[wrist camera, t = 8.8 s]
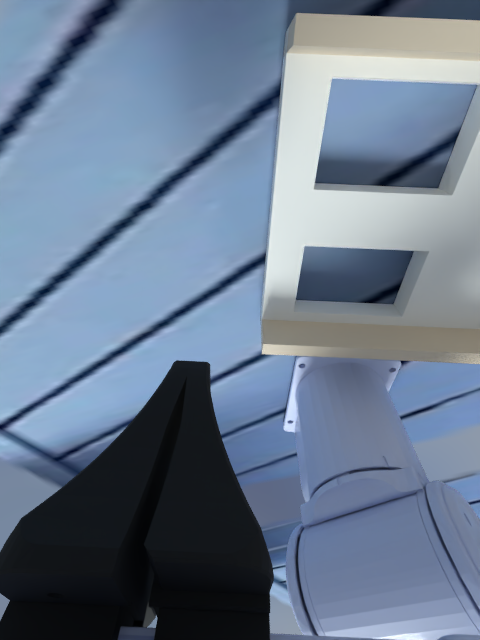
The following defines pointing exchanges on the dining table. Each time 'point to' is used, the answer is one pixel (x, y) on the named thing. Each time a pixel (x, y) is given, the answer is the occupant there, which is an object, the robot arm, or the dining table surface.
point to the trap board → (374, 199)
